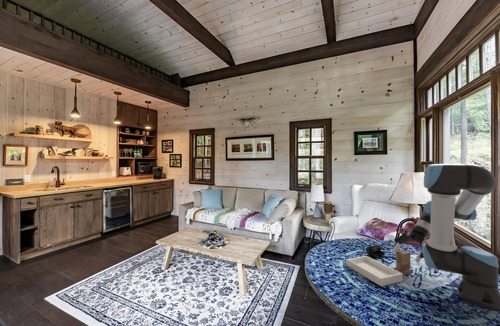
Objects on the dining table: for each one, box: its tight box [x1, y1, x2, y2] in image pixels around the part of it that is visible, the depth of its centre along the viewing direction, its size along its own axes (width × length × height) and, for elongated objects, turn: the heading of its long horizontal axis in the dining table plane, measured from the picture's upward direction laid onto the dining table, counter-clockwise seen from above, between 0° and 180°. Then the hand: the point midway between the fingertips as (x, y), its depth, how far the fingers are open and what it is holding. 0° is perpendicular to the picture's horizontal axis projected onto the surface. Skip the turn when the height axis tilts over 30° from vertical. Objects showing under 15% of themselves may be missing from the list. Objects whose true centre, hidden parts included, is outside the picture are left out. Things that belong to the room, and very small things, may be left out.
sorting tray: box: [345, 255, 404, 287], centre depth 124 cm, size 24×16×4 cm, turn 19°
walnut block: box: [395, 249, 412, 276], centre depth 125 cm, size 5×5×12 cm
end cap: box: [365, 244, 386, 260], centre depth 148 cm, size 10×7×7 cm
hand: (404, 256), depth 127 cm, fingers open, 13 cm apart
